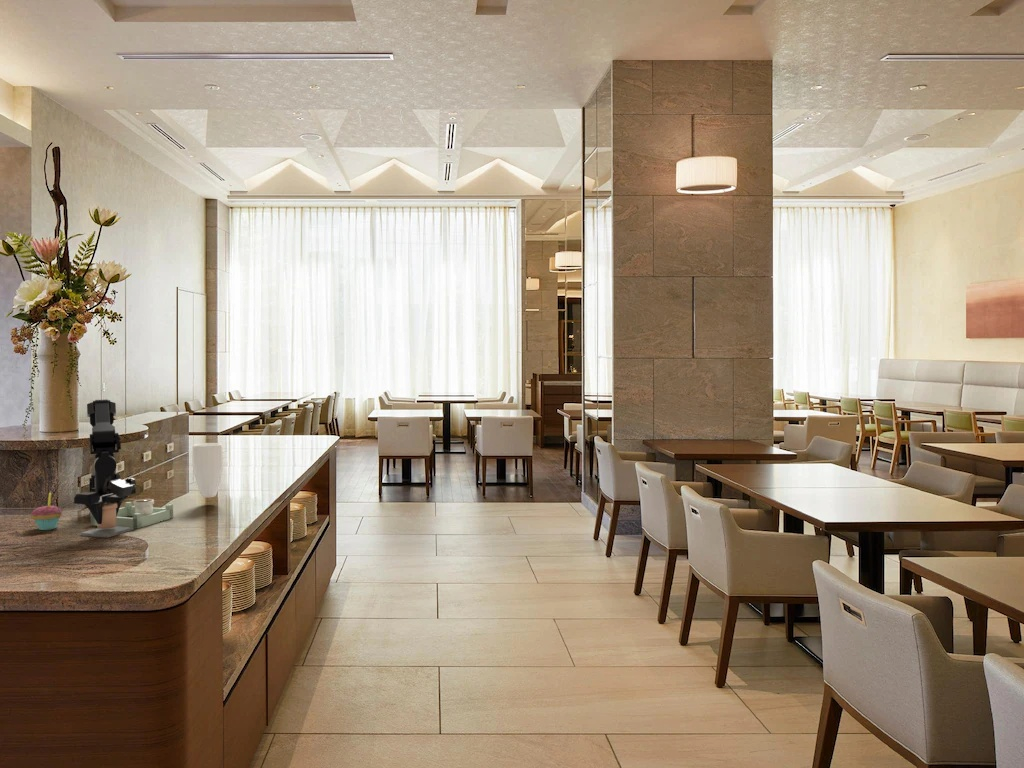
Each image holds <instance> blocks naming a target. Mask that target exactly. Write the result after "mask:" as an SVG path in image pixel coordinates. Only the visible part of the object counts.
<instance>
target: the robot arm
mask: <svg viewBox="0 0 1024 768" xmlns="http://www.w3.org/2000/svg"><path fill="white" fill-rule="evenodd" d="M116 416H117V404H116V402H113V401H111V400H110V399H95V400H92V402H89V403H87V404H86V417H87V418H89V424H90V425H91V427H92V429H91V433H89V449H90V450H89V451H90V452H89V453H90V455H94V456H93V466H94V467H93V468H92V470H91V473H90V474H91V476H90V477H89V479H88V480H89V491H84V492H80V493H76V494H75V495H74V496H73V503H74V504H75V505H76V504H77V505H84V506H85V507H87V509H88V510H89V513H90V512H91V513H92V515H93V517H94V518H95V520H96V522H97V523H98V524H101V523H102V506H103V505H104V504H105V502H116V503H117V506H118V507H117V508H116V517H117V514H118V511H119V508H121V506H122V503H123V502H124V501H125V500H126V499H128V498H129V496H131V495H134V494H137V491H136V489H137V487H136V486H137V481H136V479H135V478H133V477H129V478H127V479H121V475H120V474H119V473H120V472H119V473H117V471H116V469H117V461H116V455H115V454H116V453H117V454H118V453H119V452H120V450H122V449H121V448H122V445H121V436H120V435H119V433H118V432H116V427H115V425H114V417H116Z"/></svg>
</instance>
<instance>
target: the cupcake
mask: <svg viewBox="0 0 1024 768" xmlns="http://www.w3.org/2000/svg"><path fill="white" fill-rule="evenodd" d="M47 498H48V501H47V505H42V506H39V507H36V508H35V509H33V510H32V511H31V513H30V516H29V517H30V518H31V520H33V521H35V524H36V526H37V528H38V530H39V531H40V530H41V531H43V530H44V531H46V530H47V531H48V530H49V531H50V530H54V529H56V528H57V527H58V523H59V521H60V518H61V516H63V510H62V509H61V508H59V506H56V505H51V501H52V491H51V490H50V491H49V493H48V497H47Z"/></svg>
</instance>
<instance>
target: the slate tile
mask: <svg viewBox="0 0 1024 768" xmlns="http://www.w3.org/2000/svg"><path fill="white" fill-rule="evenodd" d="M133 530H134V528H133V527H120V526H116V527H114V528H109V529H98V528H93V529H89V530H86V531H83V532H80V536H82V537H94V538H95V537H96V538H110V537H111V538H112V537H114V536H117V535H120V534H124V533H128V532H131V531H133Z"/></svg>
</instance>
